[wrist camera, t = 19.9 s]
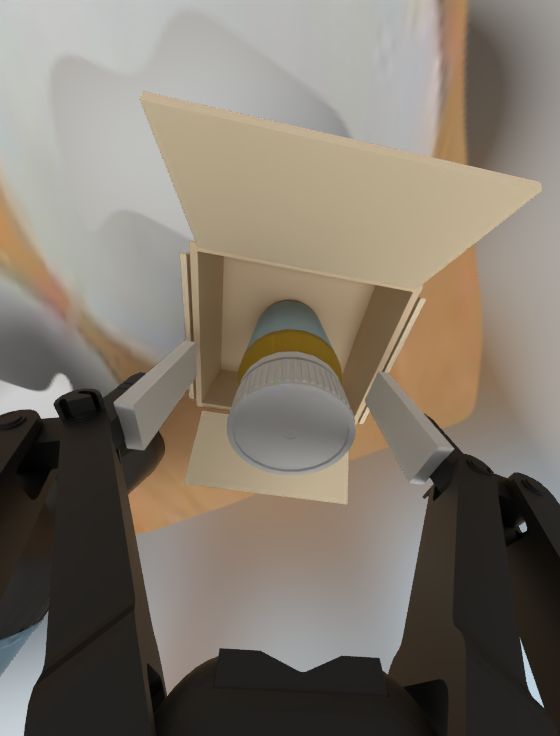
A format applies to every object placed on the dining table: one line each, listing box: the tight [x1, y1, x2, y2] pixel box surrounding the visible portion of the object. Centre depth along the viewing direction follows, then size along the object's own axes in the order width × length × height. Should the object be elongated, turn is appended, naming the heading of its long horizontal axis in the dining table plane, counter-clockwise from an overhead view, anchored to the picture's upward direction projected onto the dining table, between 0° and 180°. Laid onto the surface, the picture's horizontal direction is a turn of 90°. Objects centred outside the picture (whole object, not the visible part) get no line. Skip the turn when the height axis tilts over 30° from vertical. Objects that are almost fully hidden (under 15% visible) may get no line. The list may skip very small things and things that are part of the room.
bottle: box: [227, 300, 355, 475], centre depth 16 cm, size 7×7×15 cm
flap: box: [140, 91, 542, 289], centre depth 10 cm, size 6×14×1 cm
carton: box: [180, 241, 426, 426], centre depth 20 cm, size 17×14×7 cm
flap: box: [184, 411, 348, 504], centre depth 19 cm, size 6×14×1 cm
